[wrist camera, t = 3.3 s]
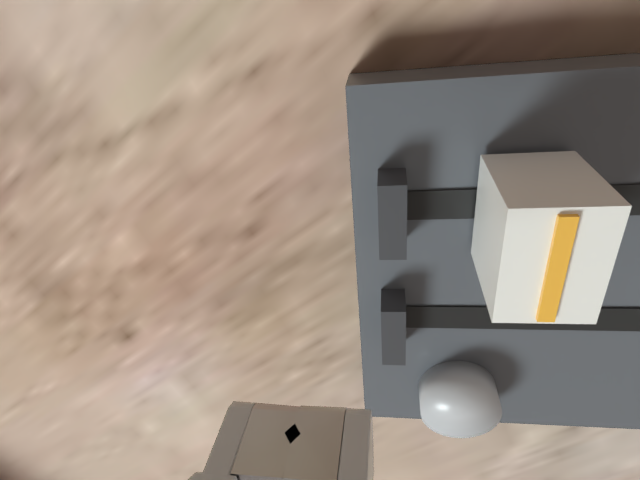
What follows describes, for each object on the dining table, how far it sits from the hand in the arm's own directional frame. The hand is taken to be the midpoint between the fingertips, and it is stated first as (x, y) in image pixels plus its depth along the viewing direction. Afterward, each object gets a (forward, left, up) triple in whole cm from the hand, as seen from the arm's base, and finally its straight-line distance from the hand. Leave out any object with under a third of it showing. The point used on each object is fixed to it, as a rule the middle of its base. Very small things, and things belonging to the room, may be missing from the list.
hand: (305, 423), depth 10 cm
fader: (0, +6, -9) cm, 11 cm away
